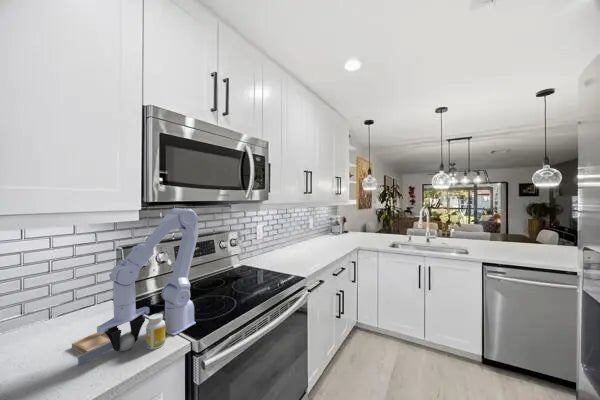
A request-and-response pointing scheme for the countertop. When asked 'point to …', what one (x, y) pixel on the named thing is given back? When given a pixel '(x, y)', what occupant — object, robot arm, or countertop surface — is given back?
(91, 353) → the acrylic wall
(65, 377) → the countertop surface
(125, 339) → the ball
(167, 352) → the countertop surface
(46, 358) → the countertop surface
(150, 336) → the supplement bottle
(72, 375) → the countertop surface
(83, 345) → the wooden dish
